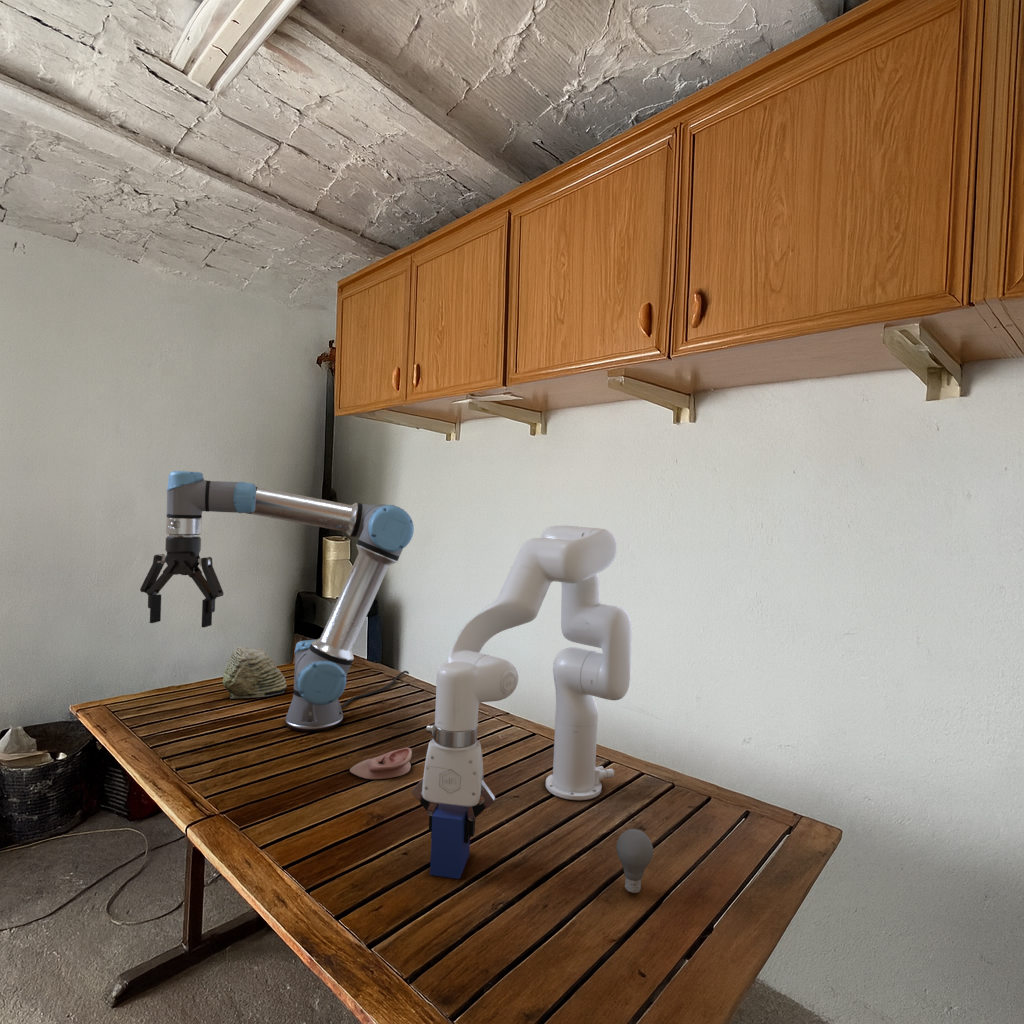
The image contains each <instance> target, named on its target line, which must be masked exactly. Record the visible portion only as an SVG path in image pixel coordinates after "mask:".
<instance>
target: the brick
mask: <svg viewBox="0 0 1024 1024" xmlns="http://www.w3.org/2000/svg"><path fill="white" fill-rule="evenodd" d="M466 818H467V813H466V809H465V806H457V805H448V804H440V803H439V804H438V807H437V809H436V811H435V813H434V814H433V816H432V839H431V841H430V843H431V844H430V847H431V848H430V863H429V864H430V869H429V876H434V877H442V878H449V879H457V880H460V879H461V877H462V874H463V873H464V870H465V867H466V864H467V862H468V860H469V857H470V851H471V850H470V849H471V848H470V847H471V839H470V840H469V842H468V844H467V843H465V842H464V831H465V820H466Z"/></svg>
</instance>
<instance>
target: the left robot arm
mask: <svg viewBox="0 0 1024 1024" xmlns="http://www.w3.org/2000/svg"><path fill="white" fill-rule="evenodd" d="M167 480H168V481H167V489H166V522H165V523H166V525H165V526H166V528H165V533H166V535H168V536H166V537H165V549H164V550H165V552H166V555H165V554H164V553H160V554H159V553H158V554H154V555H153V558H152V559H153V560H152V565H151V567H150V569H149V570H148V572H147V574H146V576H145V578H144V580H143V583H142V584H141V586H140V589H139V591H140V592H141V593H145V594H146V595H147V608H148V609H149V624H155V623H159V622H162V621H161V620H162V619H161V618H162V617H161V616H162V613H161V612H162V594H161V593H160V591H161V590H162V589H163V588H164V587H165V585H166V584H168V582H169V581H170V580H171V578H172V577H173V576H176V575H177V576H178V575H181V576H188V577H189V578H191V580H192V581H193V582H194V583H195V585H196V586H197V588H198V589H199V591H200V592H201V593H202V595H203V596H204V599H202V601H201V602H202V603H201V628H207V627H211V626H212V625H213V624H212V622H213V613H214V612H215V611H216V600H217V598H220V597H223V596H224V594H225V593H224V590H223V588H222V586H221V583H220V581H219V578H218V576H217V573H216V570H215V568H214V566H213V557H212V556H205V557H200V552H201V550H202V537H200V536H201V534H202V528H203V527H202V526H203V524H202V523H203V522H202V521H203V516H202V515H203V512H207V513H208V512H212V513H213V512H215V513H233V514H234V513H235V514H237V513H238V514H248V515H254V516H259V517H265V518H269V519H274V520H275V519H276V520H281V521H286V522H291V523H297V524H302V525H308V526H313V527H318V528H323V529H329V530H335V531H340V532H345V533H346V534H347V535H348V536H349V537H352V538H358V539H357V542H356V544H355V546H356V549H357V551H358V554H357V556H356V558H355V561H354V562H353V565H352V567H351V569H350V572H349V573H348V576H347V578H346V580H345V582H344V585H343V587H342V589H341V591H340V593H339V596H338V598H337V600H336V603H335V604H334V606H333V609H332V611H331V614H330V616H329V618H328V620H327V622H326V624H325V626H324V629H323V631H322V633H321V635H320V637H319V638H317V639H307V640H300V641H298V642H297V643H295V648H294V649H295V650H294V672H293V673H294V674H293V675H294V676H293V695H292V696H293V697H292V699H291V702H290V704H289V708H288V711H287V713H286V715H285V726H286V728H287V729H289V730H291V731H294V732H295V731H296V732H301V733H316V732H325V731H329V730H332V729H335V728H337V727H339V726H340V725H342V723H343V722H344V714H343V709H342V708H345V707H346V706H347V705H348V704H349V703H350V702H352V701H354V700H356V699H359V698H363V697H367V696H370V695H373V694H376V693H379V692H382V691H384V690H386V689H388V688H390V687H391V686H392V685H393V684H395V683H396V681H397V679H399V678H400V677H401V676H402V675H403V674H407V675H410V672H409V671H408V670H403V671H401V672H400V673H399V674H398V675H396V676H395V677H394V678H393V680H392V681H391V682H390V683H388V684H387V685H385V686H383V687H381V688H379V689H376V690H372V691H369V692H366V693H363V694H362V693H361V694H358V695H356V696H355V695H354V696H353V697H350V698H349V699H347V700H346V701H345V702H344V703H342V704H341V702H340V699H339V698H340V697H341V696H342V695H343V693H344V691H345V689H346V686H347V675H348V673H349V671H350V669H351V666H352V664H353V662H354V660H355V657H354V654H353V647H354V646H355V643H356V640H357V639H358V636H359V634H360V632H361V629H362V627H363V625H364V622H365V620H366V619H367V616H368V615H369V612H370V609H371V607H372V605H373V603H374V600H375V598H376V596H377V594H378V592H379V589H380V587H381V585H382V583H383V580H384V578H385V577H386V574H387V572H388V569H389V567H390V566H391V565H394V564H396V563H398V561H399V559H400V557H401V555H402V552H403V551H404V549H405V548H406V547H407V546H408V545H409V544H410V542H411V541H412V539H413V537H414V532H415V528H414V527H415V525H414V522H413V519H412V517H411V516H410V515H409V513H408V512H407V511H406V510H405V509H403V508H402V507H400V506H397V505H394V504H367V503H361V502H354V503H353V504H347V503H343V502H336V501H332V500H327V499H322V498H316V497H312V496H306V495H301V494H296V493H290V492H286V491H281V490H275V489H270V488H266V487H260V486H256V484H255V483H254V482H245V481H222V480H217V481H216V480H206V479H205V477H204V474H203V472H201V471H185V470H173V471H171V472H170V473H169V474H168V477H167ZM165 564H166V567H165V568H164V566H165ZM200 567H201V569H200ZM163 568H164V569H163ZM162 570H163V571H162ZM161 572H162V573H161ZM159 575H160V576H159Z"/></svg>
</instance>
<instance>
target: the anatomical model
mask: <svg viewBox="0 0 1024 1024" xmlns="http://www.w3.org/2000/svg"><path fill="white" fill-rule="evenodd" d="M412 751H413V750H412V749H411V748H410V747H403V748H402V747H401V748H398V749H396V750H395V749H394V750H391V751H389V752H386V753H383V754H381V755H379V756H375V757H371V758H368V759H364V760H362V761H360V762H358V763H356V764H354V765H353V766H352V767H351V768H350V769H349V773H351V774H353V775H354V776H357V777H359V778H362V779H366V780H382V779H383V780H384V779H392V778H396V777H400V776H404V775H405V774H408V773H409V772H410V770H411V767H412V764H411V762H410V761H411V759H412V756H413V752H412Z"/></svg>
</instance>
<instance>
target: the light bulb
mask: <svg viewBox="0 0 1024 1024" xmlns="http://www.w3.org/2000/svg"><path fill="white" fill-rule="evenodd" d="M615 849H616V854H617V857H618V859H619V861H620V863H621V865H622V867H623V873H624V874H623V875H624V876H625V878H624V888H625V890H627V891H628V892H630V893H634V894H635V893H639V892H640V891H641V889H642V887H641V886H642V879H643V877H644V875H645V871H646V868H647V867H648V866H649V864H650V863H651V861H652V859H653V855H654V847H653V843H652V841H651V838H649V836H648V835H647V834H646V833H645V832H643V831H642V830H641V829H636V828H629V829H627V830H625V831H623V832H622V833H621V834H620V835H619V837H618V839H617V841H616V847H615Z"/></svg>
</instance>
